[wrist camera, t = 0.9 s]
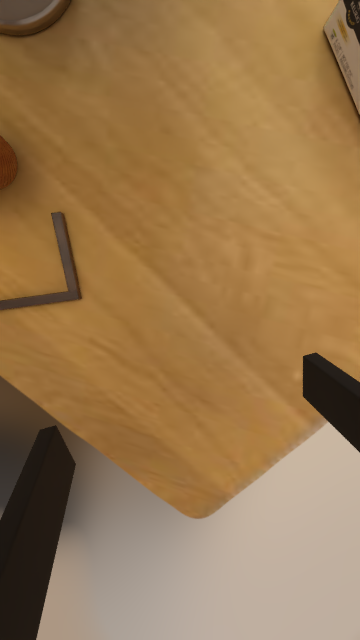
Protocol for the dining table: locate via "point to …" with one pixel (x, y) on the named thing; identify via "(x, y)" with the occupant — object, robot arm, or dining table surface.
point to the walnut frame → (67, 266)
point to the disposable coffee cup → (7, 164)
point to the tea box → (346, 43)
